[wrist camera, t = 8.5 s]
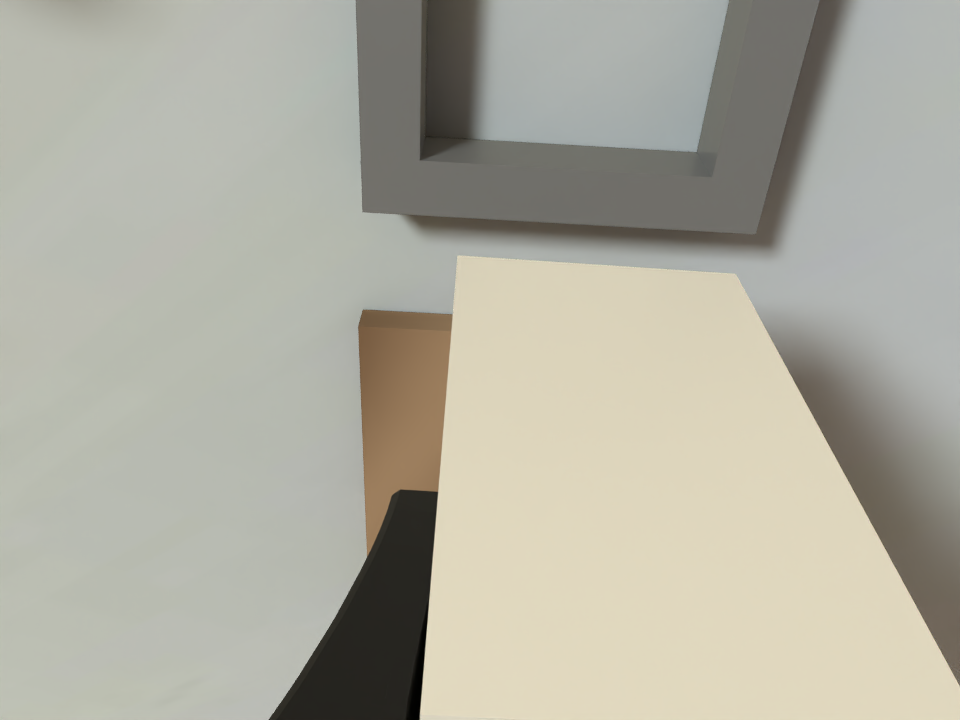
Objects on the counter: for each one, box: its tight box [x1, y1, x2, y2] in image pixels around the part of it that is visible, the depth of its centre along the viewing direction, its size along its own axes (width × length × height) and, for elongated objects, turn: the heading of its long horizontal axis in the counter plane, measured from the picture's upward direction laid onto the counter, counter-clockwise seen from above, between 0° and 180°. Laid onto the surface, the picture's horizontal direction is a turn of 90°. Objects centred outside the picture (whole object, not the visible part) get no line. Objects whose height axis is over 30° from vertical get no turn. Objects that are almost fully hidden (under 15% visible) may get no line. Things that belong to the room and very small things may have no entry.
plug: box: [420, 256, 960, 720], centre depth 10 cm, size 4×6×7 cm, turn 176°
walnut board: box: [358, 310, 453, 556], centre depth 23 cm, size 9×13×1 cm
